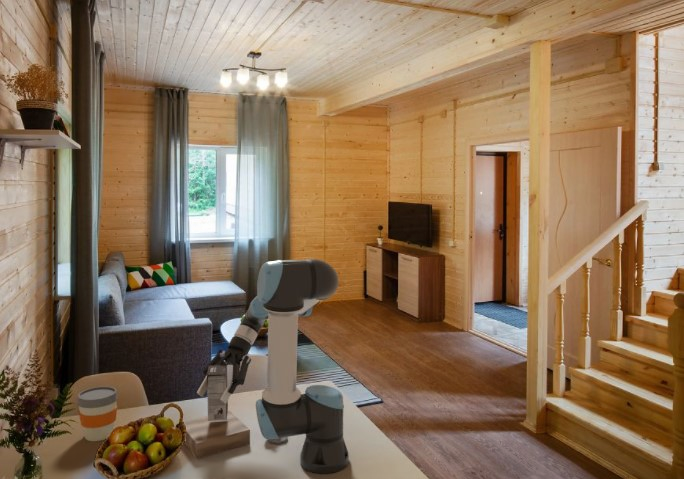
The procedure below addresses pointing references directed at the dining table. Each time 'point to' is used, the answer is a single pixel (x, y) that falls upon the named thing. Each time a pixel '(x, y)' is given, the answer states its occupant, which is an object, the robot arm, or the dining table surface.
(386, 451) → the dining table surface
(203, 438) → the walnut plinth
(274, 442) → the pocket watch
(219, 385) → the coffee box
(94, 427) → the reusable coffee cup
